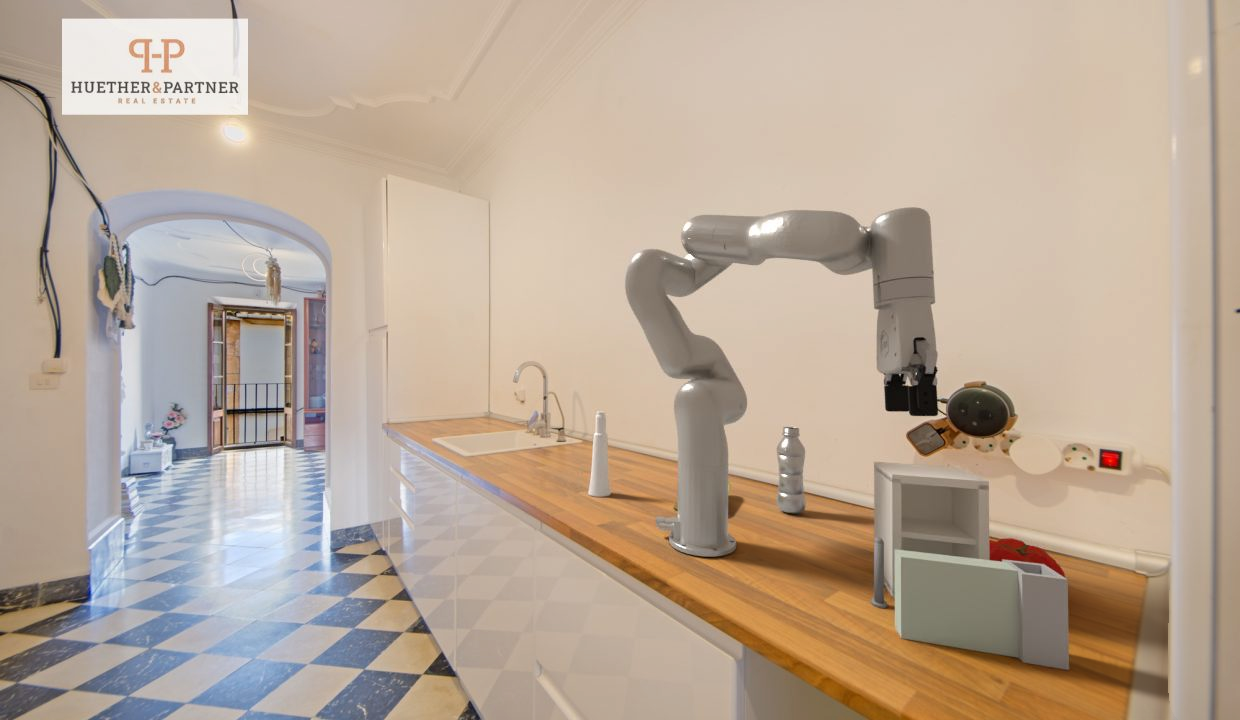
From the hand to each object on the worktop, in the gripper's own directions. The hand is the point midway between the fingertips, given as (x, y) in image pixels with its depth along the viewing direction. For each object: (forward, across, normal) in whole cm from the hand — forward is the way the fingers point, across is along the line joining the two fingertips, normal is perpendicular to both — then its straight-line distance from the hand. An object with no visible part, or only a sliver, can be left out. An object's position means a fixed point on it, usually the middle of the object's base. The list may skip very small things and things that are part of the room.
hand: (909, 413), depth 63 cm
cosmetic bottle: (+24, -41, -60) cm, 77 cm away
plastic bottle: (+26, -41, -12) cm, 50 cm away
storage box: (+28, +8, +3) cm, 29 cm away
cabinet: (+27, -5, +2) cm, 28 cm away
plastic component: (+26, -42, -32) cm, 59 cm away
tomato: (+28, -12, +18) cm, 35 cm away
